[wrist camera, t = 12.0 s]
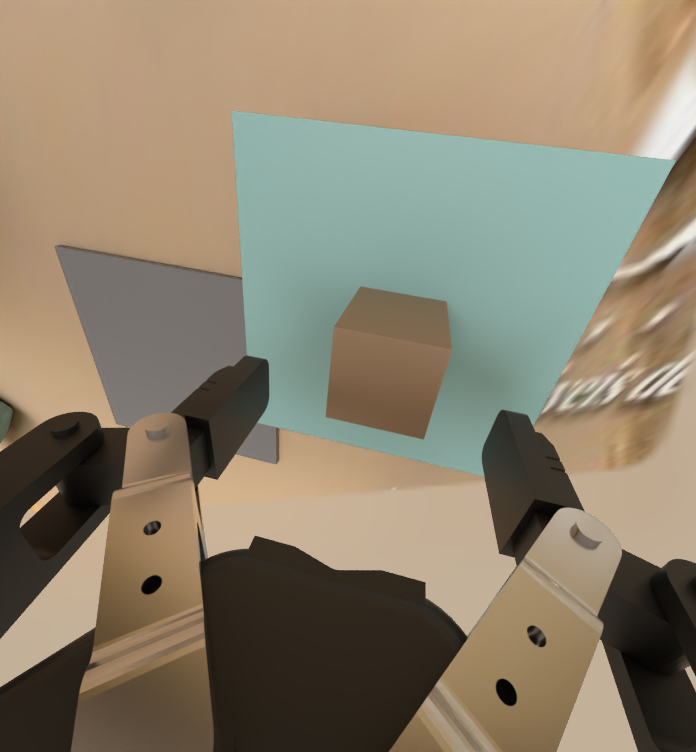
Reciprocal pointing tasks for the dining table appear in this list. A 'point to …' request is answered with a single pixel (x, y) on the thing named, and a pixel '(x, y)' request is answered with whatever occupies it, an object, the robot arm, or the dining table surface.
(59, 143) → the dining table surface
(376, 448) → the lid
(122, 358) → the mat
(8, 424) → the flower pot
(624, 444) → the dining table surface
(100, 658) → the robot arm
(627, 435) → the dining table surface
